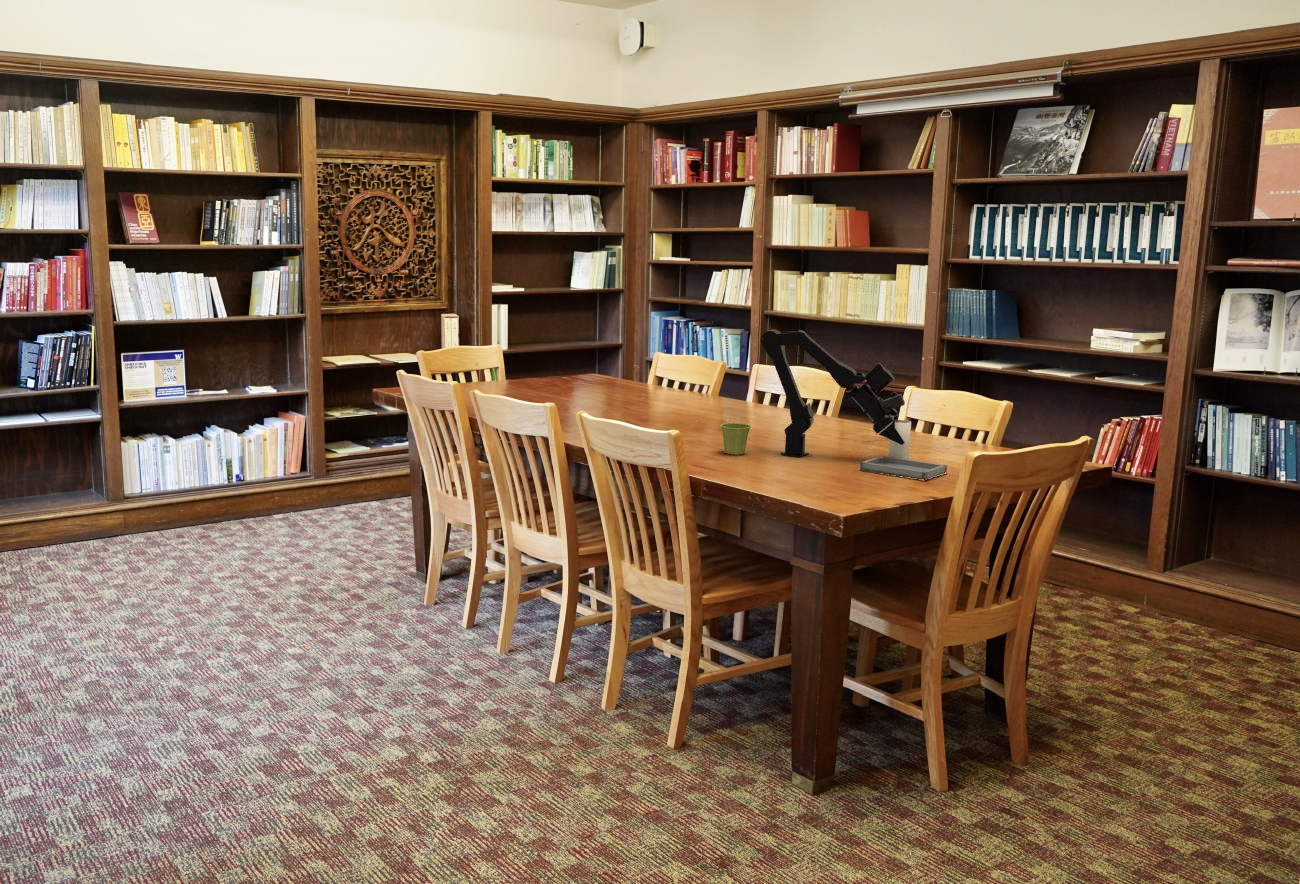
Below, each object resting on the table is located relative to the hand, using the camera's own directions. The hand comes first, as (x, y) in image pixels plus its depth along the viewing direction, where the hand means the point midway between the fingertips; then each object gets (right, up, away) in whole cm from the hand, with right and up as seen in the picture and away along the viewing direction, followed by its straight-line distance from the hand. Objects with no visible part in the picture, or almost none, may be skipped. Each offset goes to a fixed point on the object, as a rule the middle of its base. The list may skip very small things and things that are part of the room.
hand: (904, 441), depth 330 cm
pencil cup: (-2, -6, +2) cm, 7 cm away
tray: (-3, -9, -12) cm, 16 cm away
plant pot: (-50, -4, +9) cm, 51 cm away
